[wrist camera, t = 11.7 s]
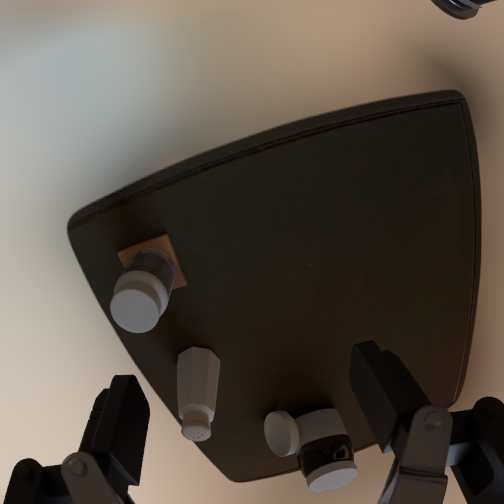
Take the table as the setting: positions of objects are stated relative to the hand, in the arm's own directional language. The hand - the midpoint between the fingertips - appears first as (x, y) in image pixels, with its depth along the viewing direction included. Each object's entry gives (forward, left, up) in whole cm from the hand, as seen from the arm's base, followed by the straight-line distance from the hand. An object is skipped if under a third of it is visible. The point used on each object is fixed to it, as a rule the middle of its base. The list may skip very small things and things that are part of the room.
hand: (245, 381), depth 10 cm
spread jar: (+31, +6, -21) cm, 38 cm away
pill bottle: (+3, -8, -20) cm, 22 cm away
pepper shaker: (+16, -6, -21) cm, 27 cm away
